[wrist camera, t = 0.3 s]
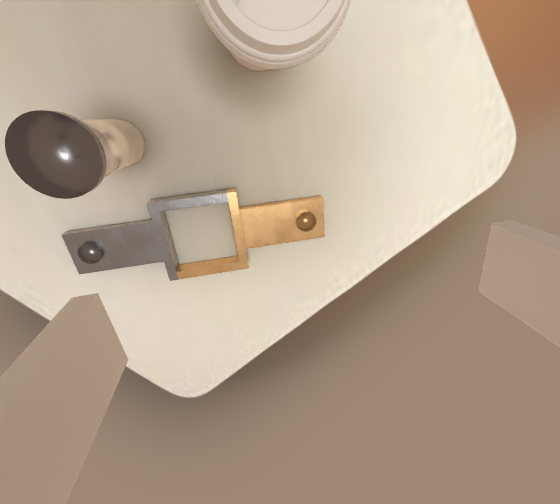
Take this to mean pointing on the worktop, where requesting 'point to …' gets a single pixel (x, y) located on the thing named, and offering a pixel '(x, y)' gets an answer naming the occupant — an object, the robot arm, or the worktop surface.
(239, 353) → the worktop surface
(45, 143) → the pin
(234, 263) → the link plate bronze
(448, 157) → the worktop surface
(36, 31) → the worktop surface
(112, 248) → the link plate steel
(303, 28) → the coffee cup
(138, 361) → the worktop surface
